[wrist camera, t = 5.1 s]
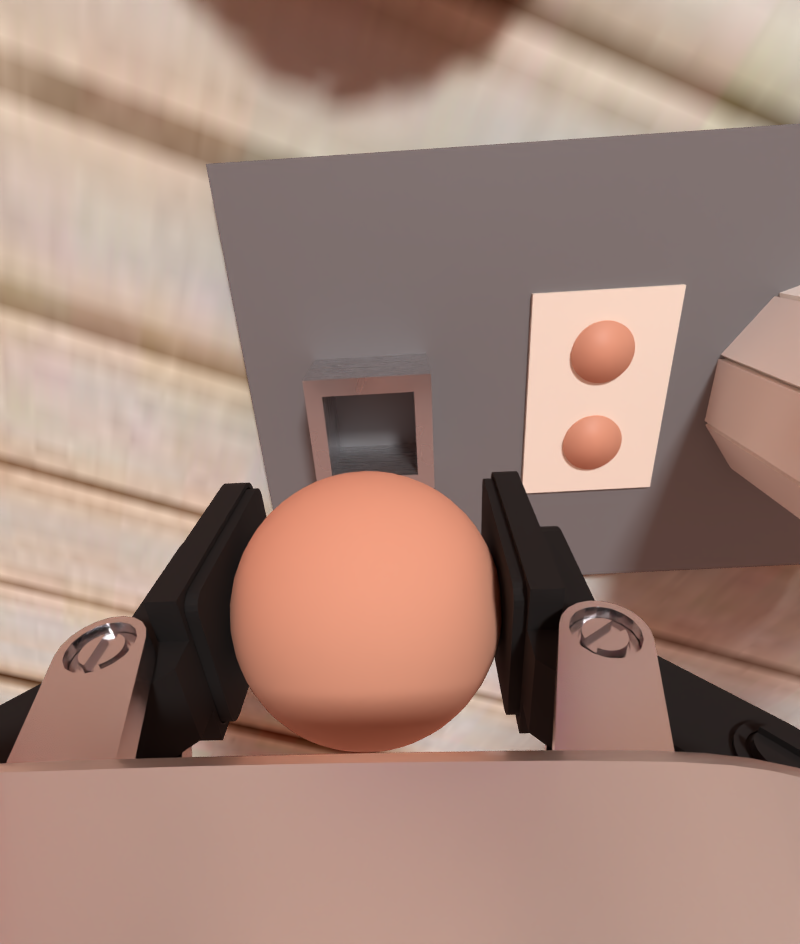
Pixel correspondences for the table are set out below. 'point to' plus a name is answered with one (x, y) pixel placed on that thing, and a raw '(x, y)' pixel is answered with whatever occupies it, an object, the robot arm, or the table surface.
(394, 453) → the grey hollow block
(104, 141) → the table surface
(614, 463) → the board
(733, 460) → the tube
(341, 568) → the ball
